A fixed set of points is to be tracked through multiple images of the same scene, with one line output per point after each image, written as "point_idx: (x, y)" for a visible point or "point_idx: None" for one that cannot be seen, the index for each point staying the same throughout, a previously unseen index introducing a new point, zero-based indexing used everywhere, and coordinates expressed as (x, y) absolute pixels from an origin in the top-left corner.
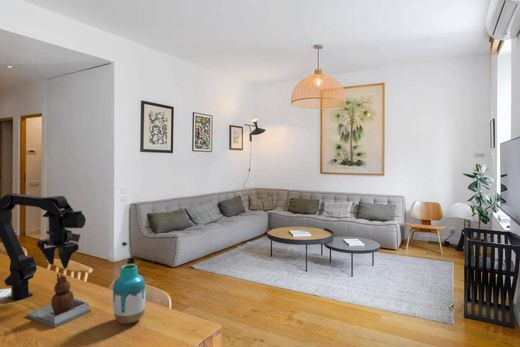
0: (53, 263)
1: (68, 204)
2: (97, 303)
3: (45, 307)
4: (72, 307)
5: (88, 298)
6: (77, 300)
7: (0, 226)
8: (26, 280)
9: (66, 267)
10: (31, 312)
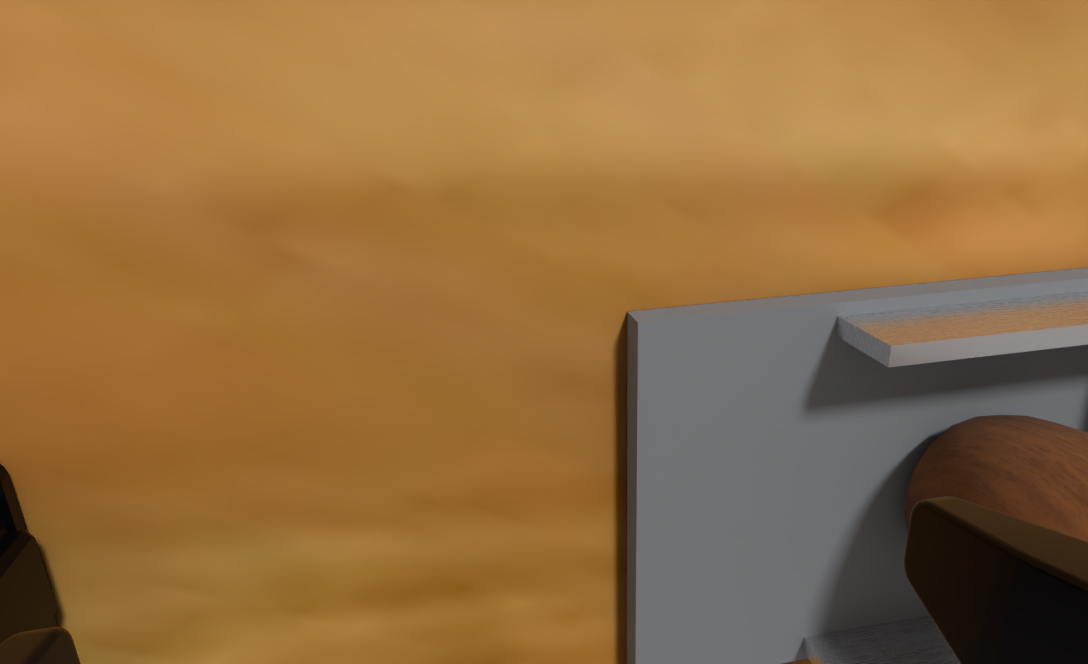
0: (52, 634)
1: None
2: (1057, 85)
3: (669, 539)
4: (947, 366)
5: (831, 52)
6: (1042, 346)
7: None
8: None
9: (952, 513)
10: (653, 657)
